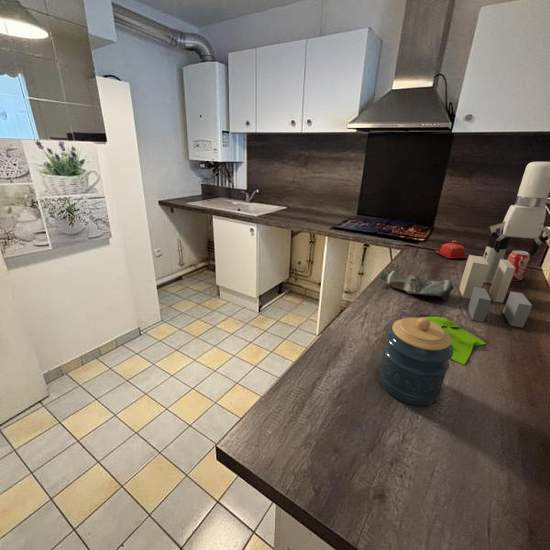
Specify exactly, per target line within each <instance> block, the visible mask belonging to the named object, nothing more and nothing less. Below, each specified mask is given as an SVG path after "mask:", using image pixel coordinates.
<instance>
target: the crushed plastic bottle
mask: <svg viewBox="0 0 550 550" xmlns="http://www.w3.org/2000/svg"><path fill="white" fill-rule="evenodd" d="M380 279H381V280H383V281H384V282H387V286H388V287H390V288H394V289H396V290H397V289H398V290H401V291H404V292H406V293H407V294H409V295H421V296H429V297H440V298H441V299H442V300H443V301H446V300H447V299H449V296H450V294H451V292H452V291H453V289H454V287H453V283H452V281H451V280H449V279H444V280H441V281H440V280H428V279H424V278H422V277H419V276H417V275H414V274H413V275H409V276H405V275H403V274H401V273H398V272H397V271H396V270H392V271H390V273H389V272H382V273H381V274H380Z"/></svg>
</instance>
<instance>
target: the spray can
mask: <svg viewBox="0 0 550 550" xmlns="http://www.w3.org/2000/svg"><path fill="white" fill-rule="evenodd" d="M496 233H497V235H498V234H500V233H501V232H496ZM511 238H512V237H509V236H506V237H505V238H503V239H502V240H501V241H502V244H501V247H500V250H499V252H496V251H495V250H494V249H493V247H494V244H495V240H496V239H495V238H494V236H493V235H492V234H491V233H490V235H489V238H488V241H487V244H486V247H485V250H484V253H483V256H482V257H484V258H485V259H486V261H487V262H488V264H489V267H488V270H487V273H486V276H485V279H484V282H483V284H487V285H490V284H491V285H492V282H493V280H494V277H495V274H496V271H497V268H498V265H499V262H500V259H504V258H505V255H506V252H507V250H508V247H509V244H510V241H511Z"/></svg>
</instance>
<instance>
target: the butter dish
mask: <svg viewBox="0 0 550 550" xmlns="http://www.w3.org/2000/svg"><path fill="white" fill-rule="evenodd" d="M435 253H437V254H439V255H441V256H442V257H445V258H447V259H450V260H453V259H468V257H469V255H466V248H465V247H464V246H463V245H461V244H458V240H454V239H453V240H452V241H451V242H448V243H444V244H442V245H441V247H440V250H435Z"/></svg>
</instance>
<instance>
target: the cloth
mask: <svg viewBox="0 0 550 550" xmlns="http://www.w3.org/2000/svg"><path fill="white" fill-rule="evenodd" d="M424 317H425V318H427V319H429V321H432V322H434V323H436V324H437V325H439V326H440V327H441V328H442V329H444V330H445V331H446V332H447V333H448V334H449V335H450V337H451V340H452V342H451V346H452V348H453V356H452V357H451V358H450V359H449V360H452V361H454V362H456V363H459V364H461V365H463V366H465V365H466V363H467V361H468V359H469V357H470V356H471V353H472V351H473V348H474V347H479V346H484V345H487V343H486V342H485V341H484V340H482V339H480V338H478V337H477V336H475V335H474V334H472V333H470V332H468V331H466V330H465V329H463V328H462V327H460V325H458V323H456V322H454V321H453V320H451V319H449V318H447V317H444V316H424Z"/></svg>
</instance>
